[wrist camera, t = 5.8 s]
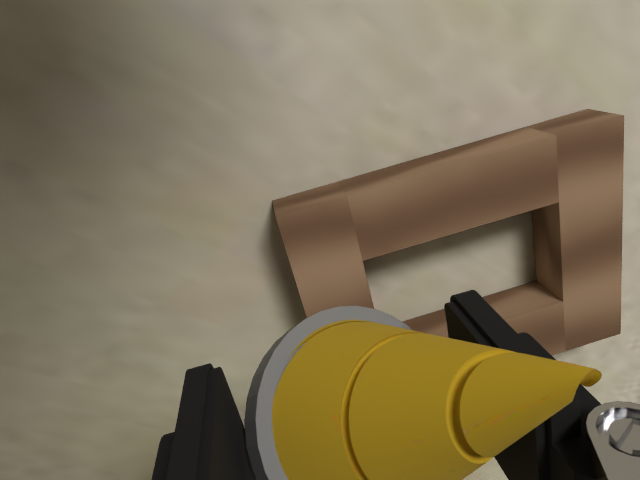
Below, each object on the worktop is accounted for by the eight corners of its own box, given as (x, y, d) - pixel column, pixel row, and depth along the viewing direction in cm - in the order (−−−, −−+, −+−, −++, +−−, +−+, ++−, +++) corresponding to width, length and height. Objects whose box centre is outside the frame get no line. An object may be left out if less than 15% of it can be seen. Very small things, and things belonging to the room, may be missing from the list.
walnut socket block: (272, 200, 28) (275, 217, 25) (587, 108, 29) (624, 115, 26) (331, 391, 34) (339, 422, 31) (590, 311, 35) (620, 333, 32)
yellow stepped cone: (192, 376, 14) (336, 238, 5) (342, 315, 16) (598, 159, 8) (262, 572, 12) (597, 803, 4) (412, 471, 15) (802, 481, 7)
